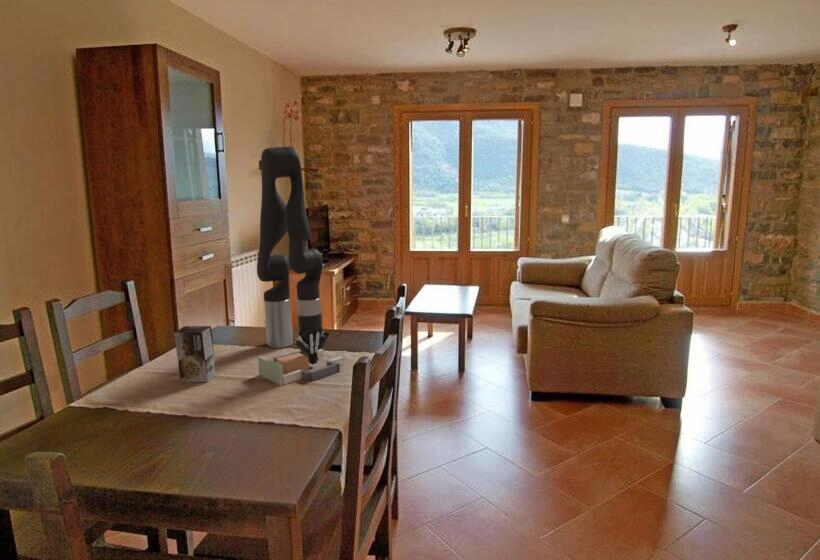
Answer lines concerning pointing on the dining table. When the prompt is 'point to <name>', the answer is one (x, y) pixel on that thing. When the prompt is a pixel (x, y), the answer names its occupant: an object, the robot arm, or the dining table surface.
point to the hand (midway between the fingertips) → (313, 363)
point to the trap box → (275, 370)
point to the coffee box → (195, 353)
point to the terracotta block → (293, 363)
